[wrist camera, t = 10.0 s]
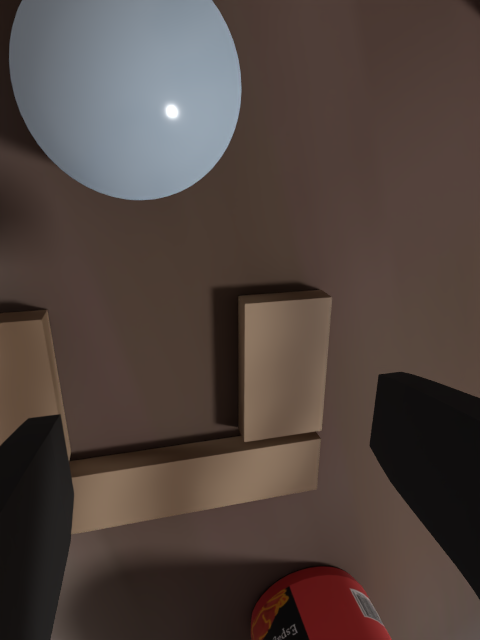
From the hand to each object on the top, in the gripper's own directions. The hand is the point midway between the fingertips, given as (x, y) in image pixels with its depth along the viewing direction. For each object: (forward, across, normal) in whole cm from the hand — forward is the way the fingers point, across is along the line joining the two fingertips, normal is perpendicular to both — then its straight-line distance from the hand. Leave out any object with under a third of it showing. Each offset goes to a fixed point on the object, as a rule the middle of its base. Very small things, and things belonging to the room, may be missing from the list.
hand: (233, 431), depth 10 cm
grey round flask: (+10, +1, -9) cm, 14 cm away
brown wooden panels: (+10, +1, +5) cm, 11 cm away
